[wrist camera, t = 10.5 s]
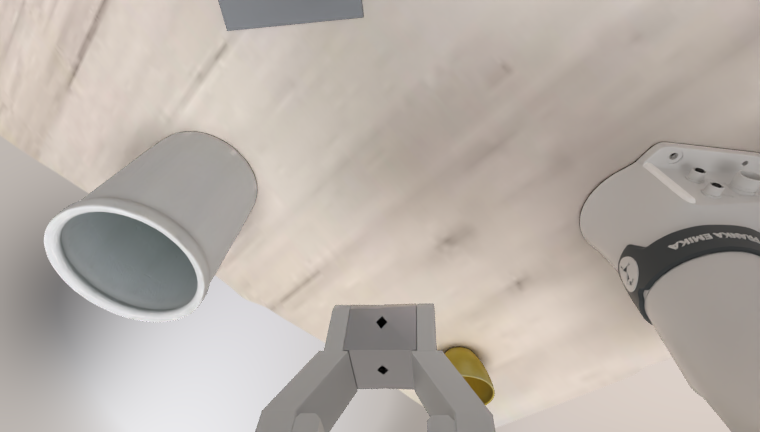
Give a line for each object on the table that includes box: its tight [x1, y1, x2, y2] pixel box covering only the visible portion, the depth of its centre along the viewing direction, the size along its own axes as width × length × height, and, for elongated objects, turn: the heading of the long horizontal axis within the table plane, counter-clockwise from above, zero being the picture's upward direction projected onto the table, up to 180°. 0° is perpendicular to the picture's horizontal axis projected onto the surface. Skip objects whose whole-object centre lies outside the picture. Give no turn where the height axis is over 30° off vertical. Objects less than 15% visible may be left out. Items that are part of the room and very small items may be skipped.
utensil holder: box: [44, 131, 257, 322], centre depth 45 cm, size 15×15×18 cm
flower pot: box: [445, 347, 495, 405], centre depth 67 cm, size 10×10×7 cm
